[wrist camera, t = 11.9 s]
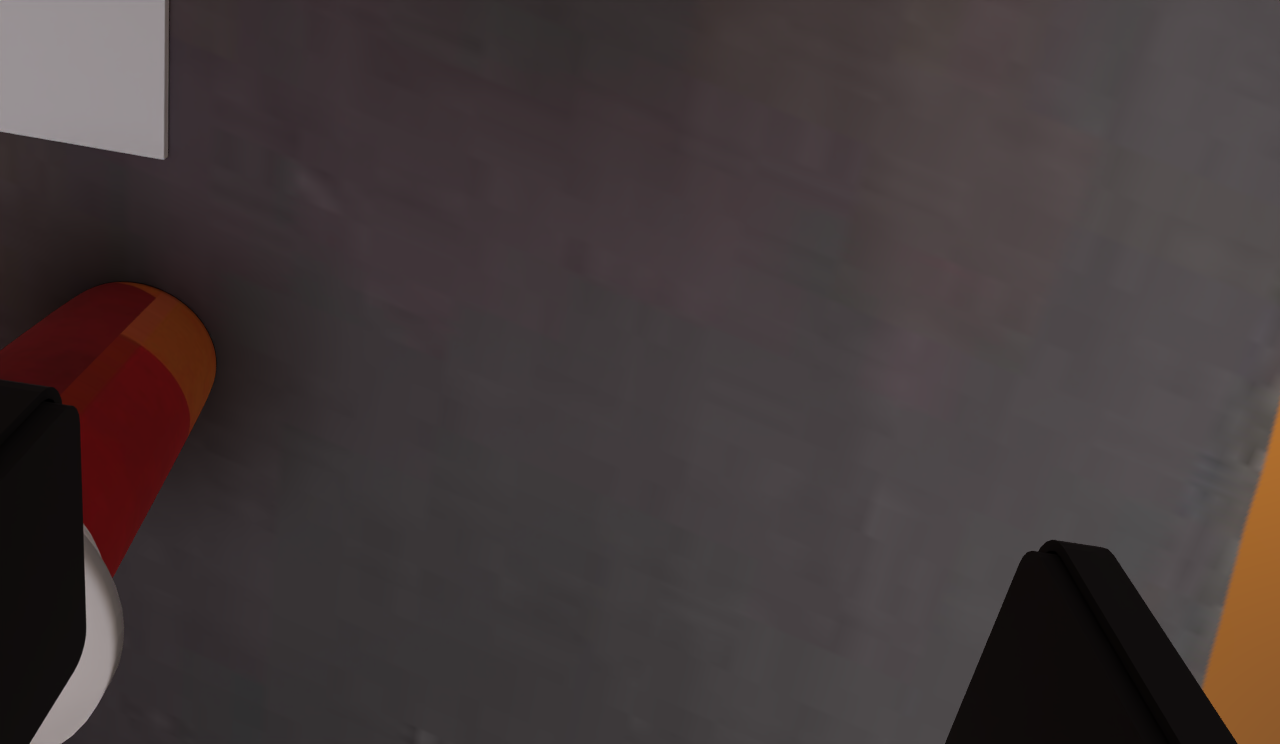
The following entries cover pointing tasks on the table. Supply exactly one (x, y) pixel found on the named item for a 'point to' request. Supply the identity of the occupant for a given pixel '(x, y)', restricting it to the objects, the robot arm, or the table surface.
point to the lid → (89, 654)
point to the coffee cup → (120, 395)
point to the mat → (87, 73)
